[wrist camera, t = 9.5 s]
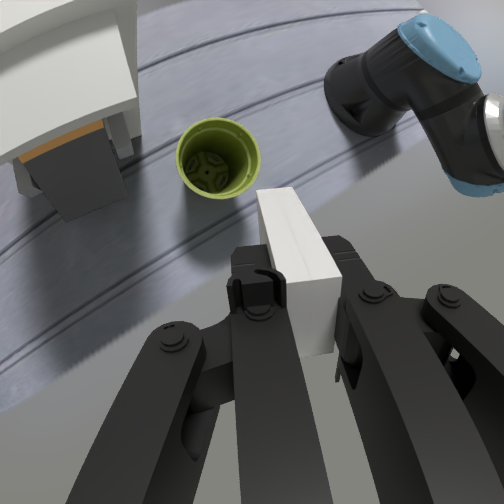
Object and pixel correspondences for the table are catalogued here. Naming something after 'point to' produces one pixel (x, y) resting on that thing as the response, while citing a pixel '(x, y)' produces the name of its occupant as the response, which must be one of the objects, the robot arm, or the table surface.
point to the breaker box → (66, 75)
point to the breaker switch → (77, 171)
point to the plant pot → (228, 153)
